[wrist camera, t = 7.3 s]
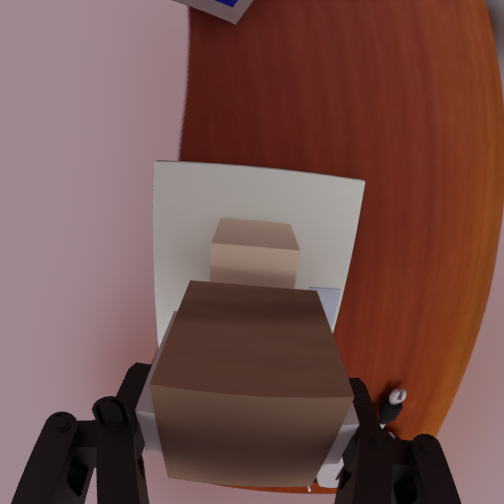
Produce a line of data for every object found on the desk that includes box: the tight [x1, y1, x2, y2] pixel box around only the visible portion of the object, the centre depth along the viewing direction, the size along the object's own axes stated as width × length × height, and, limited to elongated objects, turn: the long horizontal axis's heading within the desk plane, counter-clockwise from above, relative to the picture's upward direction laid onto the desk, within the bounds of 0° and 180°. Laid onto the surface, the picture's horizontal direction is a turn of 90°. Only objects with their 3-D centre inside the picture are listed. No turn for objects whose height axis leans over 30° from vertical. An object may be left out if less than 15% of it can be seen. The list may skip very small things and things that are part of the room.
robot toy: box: [308, 389, 406, 492], centre depth 29 cm, size 12×4×15 cm
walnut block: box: [150, 280, 354, 487], centre depth 13 cm, size 6×6×7 cm
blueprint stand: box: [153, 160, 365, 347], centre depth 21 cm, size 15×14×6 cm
